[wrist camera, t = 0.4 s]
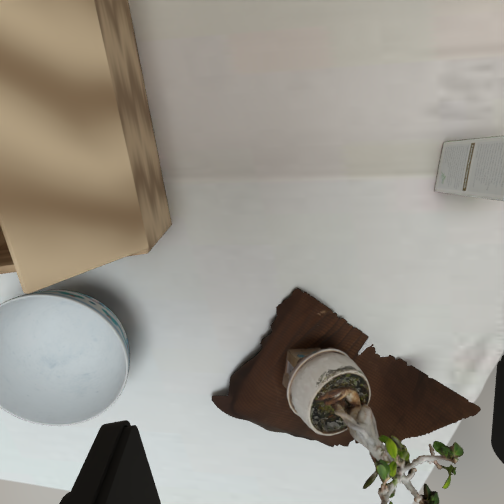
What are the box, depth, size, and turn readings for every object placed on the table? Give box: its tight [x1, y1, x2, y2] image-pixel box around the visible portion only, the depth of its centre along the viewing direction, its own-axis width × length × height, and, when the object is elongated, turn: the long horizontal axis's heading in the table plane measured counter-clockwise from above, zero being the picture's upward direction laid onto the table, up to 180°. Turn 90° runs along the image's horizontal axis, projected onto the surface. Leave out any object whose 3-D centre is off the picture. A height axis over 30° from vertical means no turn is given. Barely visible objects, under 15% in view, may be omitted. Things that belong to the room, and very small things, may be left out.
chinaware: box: [0, 290, 130, 426], centre depth 37 cm, size 15×15×8 cm
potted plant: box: [212, 288, 481, 504], centre depth 36 cm, size 20×19×25 cm
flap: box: [0, 0, 149, 294], centre depth 19 cm, size 23×9×1 cm
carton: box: [0, 0, 172, 274], centre depth 28 cm, size 24×18×12 cm
